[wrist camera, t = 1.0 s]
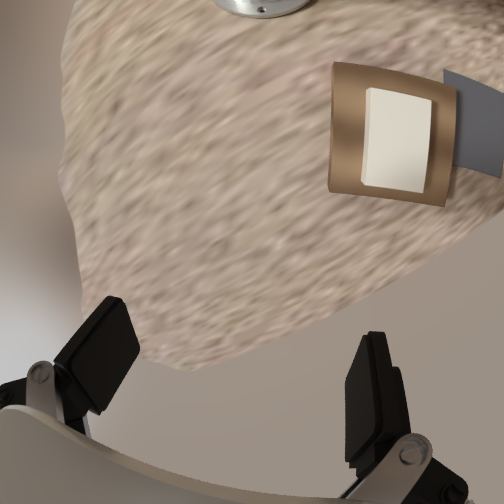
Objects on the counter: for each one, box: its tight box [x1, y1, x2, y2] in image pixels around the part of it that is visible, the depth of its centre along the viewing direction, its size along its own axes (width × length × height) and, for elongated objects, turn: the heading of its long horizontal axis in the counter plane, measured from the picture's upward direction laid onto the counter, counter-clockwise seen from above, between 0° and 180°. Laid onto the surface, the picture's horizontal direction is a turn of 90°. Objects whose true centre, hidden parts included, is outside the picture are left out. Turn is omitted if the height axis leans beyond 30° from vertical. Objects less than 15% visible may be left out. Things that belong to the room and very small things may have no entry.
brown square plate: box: [328, 62, 456, 207], centre depth 23 cm, size 13×13×3 cm
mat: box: [443, 69, 504, 178], centre depth 21 cm, size 11×10×1 cm
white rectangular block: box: [361, 87, 431, 193], centre depth 22 cm, size 9×6×2 cm, turn 0°
